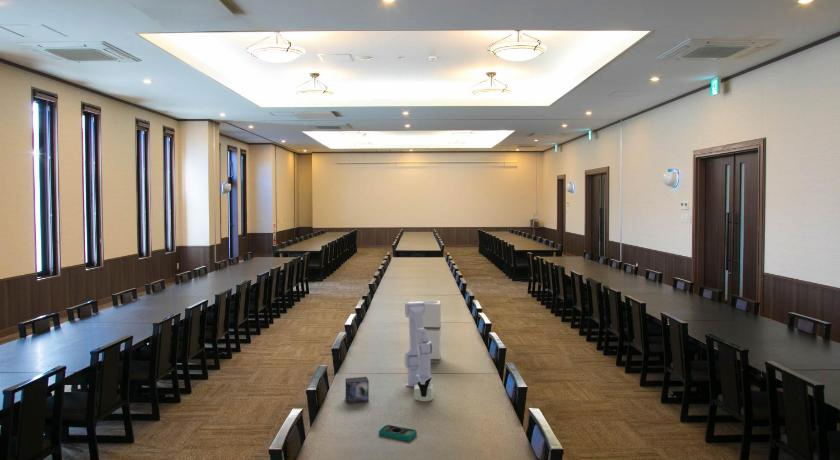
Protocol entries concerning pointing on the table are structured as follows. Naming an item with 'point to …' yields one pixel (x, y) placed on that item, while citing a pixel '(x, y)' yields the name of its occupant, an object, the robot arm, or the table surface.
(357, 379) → the small box
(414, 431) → the digital multimeter
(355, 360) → the table surface
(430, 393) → the pale green block
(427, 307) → the white rectangular tower
